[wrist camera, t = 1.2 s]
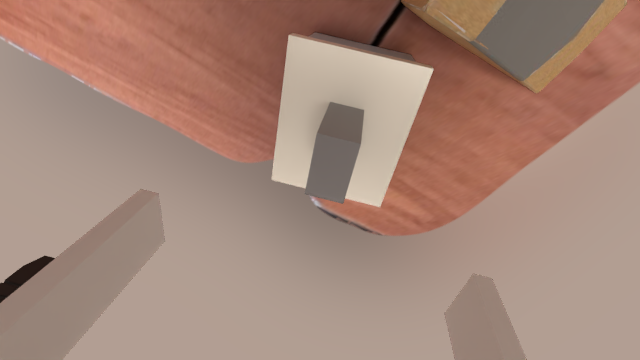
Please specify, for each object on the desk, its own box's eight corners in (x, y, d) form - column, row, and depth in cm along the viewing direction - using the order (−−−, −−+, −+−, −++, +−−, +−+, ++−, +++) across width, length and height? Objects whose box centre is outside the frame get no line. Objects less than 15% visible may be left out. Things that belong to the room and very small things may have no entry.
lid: (296, 31, 22) (259, 47, 15) (428, 62, 21) (454, 94, 15) (278, 167, 28) (247, 222, 21) (379, 193, 28) (381, 257, 21)
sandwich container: (535, 97, 27) (673, 184, 15) (397, 4, 25) (419, 13, 13) (631, 2, 23) (951, 9, 10) (472, -121, 21) (625, -305, 8)
